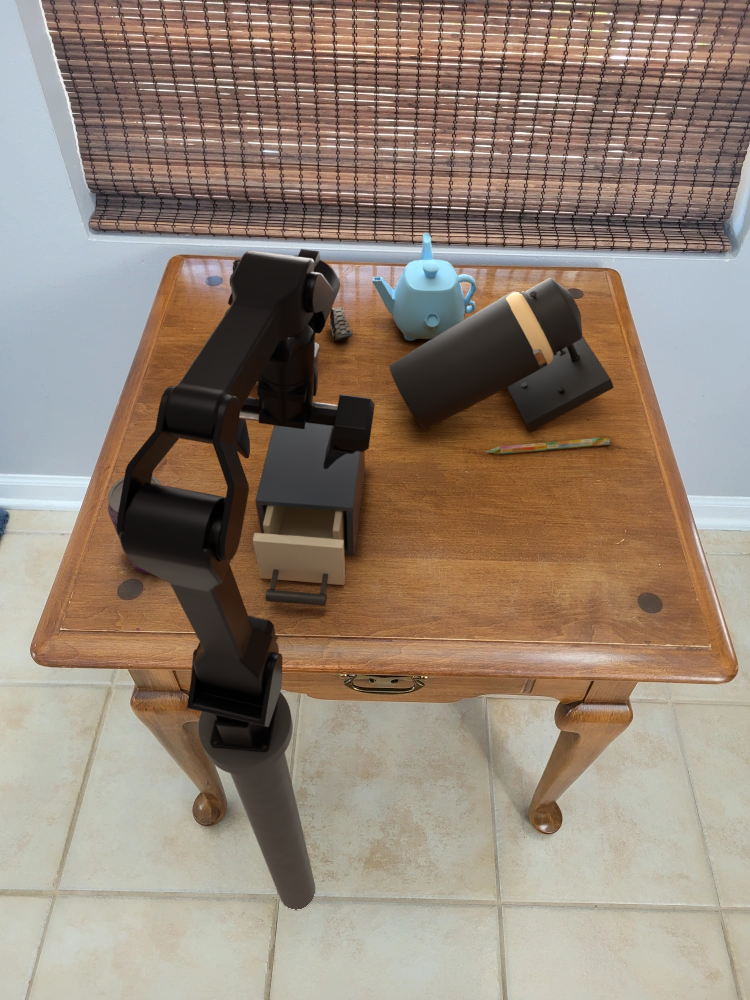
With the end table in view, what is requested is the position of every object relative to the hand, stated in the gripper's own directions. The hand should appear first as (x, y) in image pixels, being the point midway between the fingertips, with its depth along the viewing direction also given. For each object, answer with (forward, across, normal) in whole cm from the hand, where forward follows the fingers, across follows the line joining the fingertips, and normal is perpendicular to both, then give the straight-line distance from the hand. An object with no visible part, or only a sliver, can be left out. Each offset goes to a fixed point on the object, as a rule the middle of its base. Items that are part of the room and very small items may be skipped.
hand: (286, 460), depth 90 cm
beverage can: (+14, +16, +7) cm, 22 cm away
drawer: (+12, -3, +5) cm, 13 cm away
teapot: (+15, -15, -43) cm, 48 cm away
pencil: (+11, -34, -17) cm, 40 cm away
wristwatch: (+16, -2, -38) cm, 42 cm away
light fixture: (+13, -26, -25) cm, 38 cm away
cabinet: (+13, -3, -3) cm, 14 cm away
